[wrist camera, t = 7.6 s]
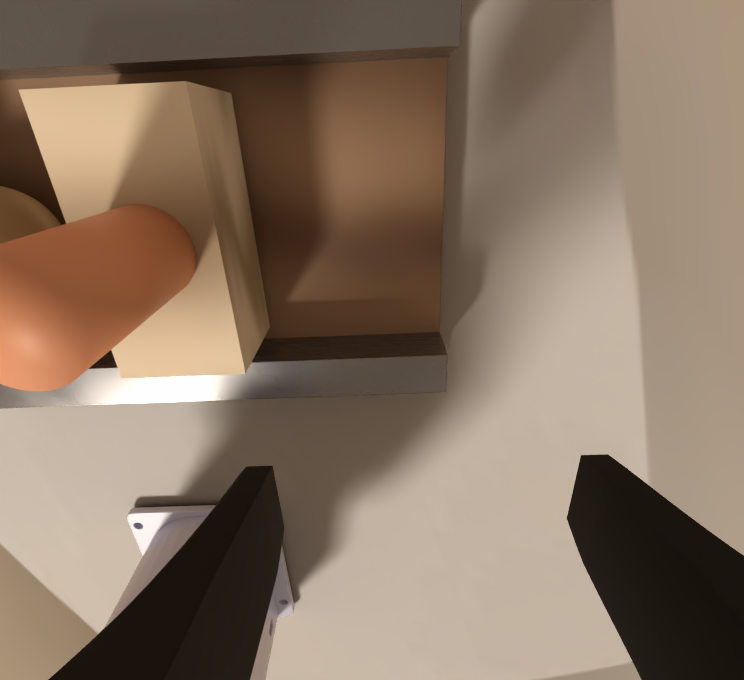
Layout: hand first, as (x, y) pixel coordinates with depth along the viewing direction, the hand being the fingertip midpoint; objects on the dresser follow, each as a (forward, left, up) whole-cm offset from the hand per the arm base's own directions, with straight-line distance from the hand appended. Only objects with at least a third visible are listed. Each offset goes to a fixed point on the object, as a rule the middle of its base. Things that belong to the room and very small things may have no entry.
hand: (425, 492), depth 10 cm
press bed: (+5, +9, -9) cm, 14 cm away
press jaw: (+5, +7, -8) cm, 12 cm away
